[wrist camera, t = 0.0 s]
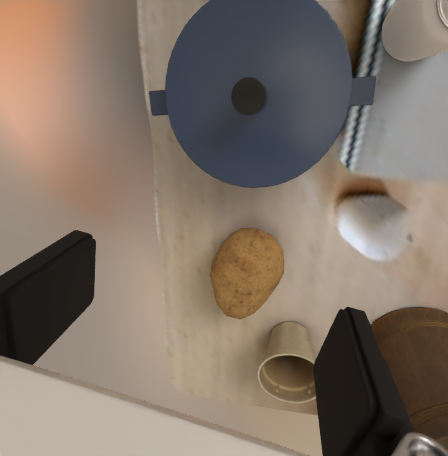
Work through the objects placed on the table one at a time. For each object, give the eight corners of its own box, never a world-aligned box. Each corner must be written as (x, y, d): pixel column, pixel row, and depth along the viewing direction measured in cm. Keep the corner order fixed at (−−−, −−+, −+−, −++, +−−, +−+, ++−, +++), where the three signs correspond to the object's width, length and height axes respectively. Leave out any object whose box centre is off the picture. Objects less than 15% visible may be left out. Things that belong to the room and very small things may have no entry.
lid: (158, -1, 28) (127, -27, 22) (361, -26, 25) (384, -63, 19) (178, 185, 35) (158, 201, 29) (340, 184, 31) (352, 202, 26)
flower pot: (269, 360, 52) (267, 406, 45) (253, 317, 50) (248, 358, 42) (324, 354, 50) (332, 401, 42) (311, 308, 47) (317, 349, 39)
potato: (208, 286, 49) (195, 318, 41) (229, 207, 43) (218, 229, 36) (265, 304, 48) (262, 340, 41) (295, 227, 42) (297, 253, 35)
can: (443, 57, 32) (526, 34, 21) (377, 66, 33) (424, 49, 22) (453, -17, 30) (552, -86, 19) (382, -4, 31) (437, -62, 20)
